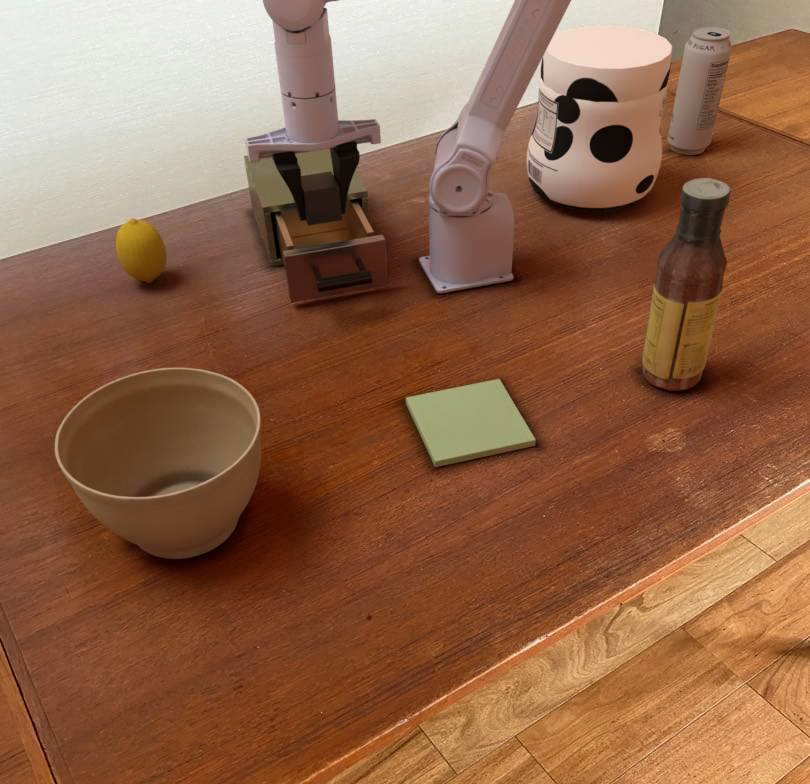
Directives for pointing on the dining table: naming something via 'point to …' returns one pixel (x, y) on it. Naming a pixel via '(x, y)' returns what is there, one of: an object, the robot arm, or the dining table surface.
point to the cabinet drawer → (330, 254)
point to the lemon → (140, 250)
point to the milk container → (599, 117)
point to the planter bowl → (164, 458)
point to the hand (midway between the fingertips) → (321, 213)
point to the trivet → (469, 422)
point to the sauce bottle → (687, 289)
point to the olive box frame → (276, 196)
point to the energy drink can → (699, 90)
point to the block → (321, 198)
